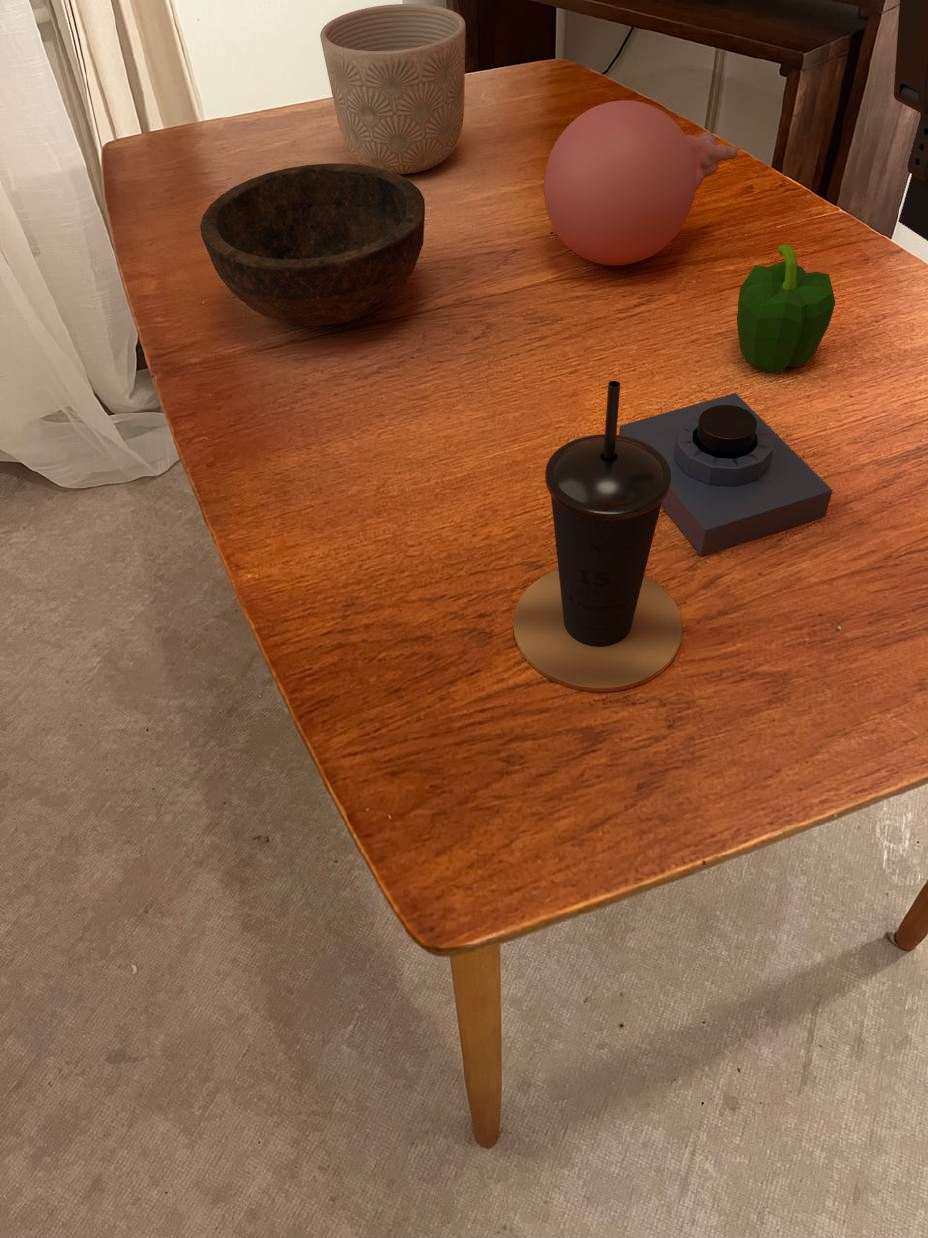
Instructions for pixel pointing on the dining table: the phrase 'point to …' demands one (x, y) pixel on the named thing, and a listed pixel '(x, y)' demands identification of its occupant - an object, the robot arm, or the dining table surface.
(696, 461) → the plate
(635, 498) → the drinking cup
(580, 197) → the balloon
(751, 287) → the bell pepper
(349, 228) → the bowl
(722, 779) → the dining table surface
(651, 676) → the coaster
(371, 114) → the planter
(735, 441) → the button
